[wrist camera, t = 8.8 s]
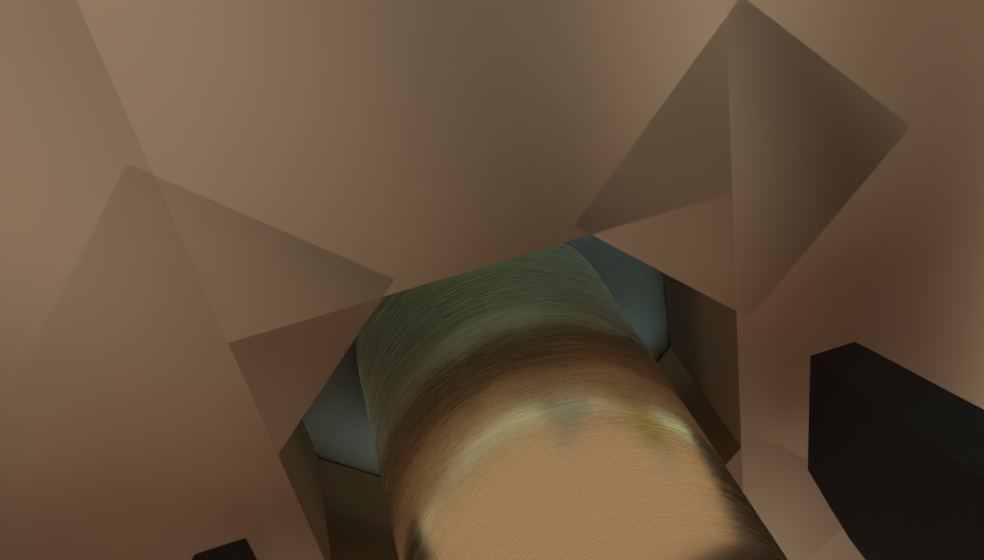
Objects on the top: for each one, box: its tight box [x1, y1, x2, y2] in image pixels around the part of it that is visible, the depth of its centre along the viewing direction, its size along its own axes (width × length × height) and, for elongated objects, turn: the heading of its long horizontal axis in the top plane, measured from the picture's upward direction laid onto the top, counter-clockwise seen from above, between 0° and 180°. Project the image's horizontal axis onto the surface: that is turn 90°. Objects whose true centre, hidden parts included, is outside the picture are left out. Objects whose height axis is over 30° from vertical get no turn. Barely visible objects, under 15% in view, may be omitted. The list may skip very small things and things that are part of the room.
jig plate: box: [0, 0, 984, 560], centre depth 13 cm, size 20×14×2 cm
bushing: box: [356, 242, 788, 560], centre depth 12 cm, size 4×4×6 cm
